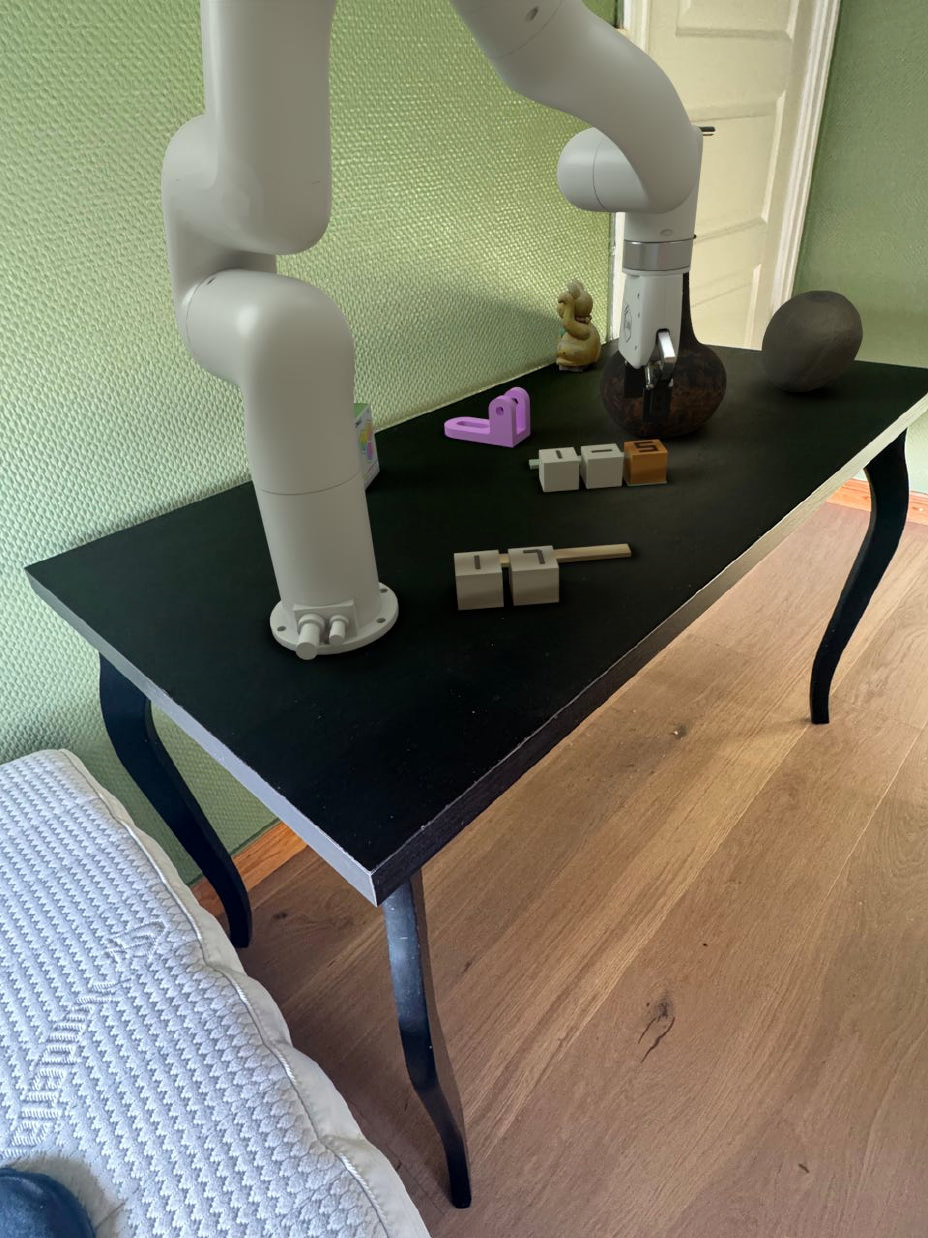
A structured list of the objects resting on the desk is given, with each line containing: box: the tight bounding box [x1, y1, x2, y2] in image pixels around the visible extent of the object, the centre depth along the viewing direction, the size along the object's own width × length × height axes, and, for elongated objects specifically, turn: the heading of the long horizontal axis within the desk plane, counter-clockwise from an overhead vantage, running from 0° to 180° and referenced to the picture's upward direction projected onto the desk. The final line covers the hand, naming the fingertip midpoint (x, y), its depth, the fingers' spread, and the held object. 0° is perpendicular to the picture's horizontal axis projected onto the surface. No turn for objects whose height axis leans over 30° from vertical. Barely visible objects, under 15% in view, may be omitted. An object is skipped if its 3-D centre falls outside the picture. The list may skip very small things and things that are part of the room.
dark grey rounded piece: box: [760, 290, 864, 393], centre depth 118 cm, size 14×14×15 cm
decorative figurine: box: [555, 278, 602, 373], centre depth 138 cm, size 10×8×15 cm
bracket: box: [443, 386, 531, 448], centre depth 114 cm, size 13×6×7 cm, turn 58°
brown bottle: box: [599, 233, 728, 439], centre depth 106 cm, size 18×18×28 cm
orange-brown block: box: [623, 439, 669, 484], centre depth 98 cm, size 4×4×4 cm
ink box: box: [354, 402, 380, 491], centre depth 100 cm, size 7×4×13 cm, turn 168°
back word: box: [528, 443, 668, 493], centre depth 100 cm, size 10×17×4 cm, turn 93°
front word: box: [453, 543, 632, 611], centre depth 79 cm, size 10×19×4 cm, turn 93°
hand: (644, 408), depth 94 cm, fingers open, 9 cm apart
